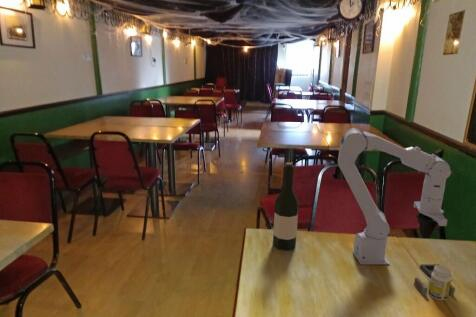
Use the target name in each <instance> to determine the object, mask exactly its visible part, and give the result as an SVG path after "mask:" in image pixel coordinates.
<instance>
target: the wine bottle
mask: <svg viewBox="0 0 476 317" xmlns="http://www.w3.org/2000/svg"><path fill="white" fill-rule="evenodd" d="M293 164H294V163H292V162H285V164H284V166H283V178H282V189H281V191H280V193H279V194H278V195H277V197H276V198H275V200H274V213H273V214H274V217H273V218H274V219H273V232H272V233H273V236H272V247H274V248H276V249H277V250H279V251H286V252H287V251H292V250H295V249H296V245H297V233H298V231H297V230H298V217H299V204H300V202H299V201H300V200H299V198H298V197H297V195H296V193H295V191H294V190H293V188H294V185H293V184H294V172H295V165H293Z"/></svg>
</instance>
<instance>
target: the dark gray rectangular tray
mask: <svg viewBox="0 0 476 317" xmlns="http://www.w3.org/2000/svg"><path fill="white" fill-rule="evenodd" d="M435 265H440V264H431V263H429V264H427V263H426V264H424V263H422V264H420V265H419V269H420V270H421V271H423V273H424V274H425V275H426V276H427V277H429V278H430V280H431V274H432V272H433V271H434V266H435ZM450 277H451V278H452V275H450ZM429 278H428V279H429Z"/></svg>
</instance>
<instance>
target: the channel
mask: <svg viewBox="0 0 476 317" xmlns="http://www.w3.org/2000/svg"><path fill="white" fill-rule="evenodd" d="M413 285H414V287H415V288H416V289H417V290H418V291H419V293H420V294H421V295H422V296H424V297H425V296H427V293H428V290H429V287H427V285H425V283H424V282H423V281H422V280H421V279H420V278H419V277H414V282H413ZM455 292H456V287H455V286H454V285H453V284H452V283H451V284H450V289H449V295H450V296H452V297H453V296H455Z"/></svg>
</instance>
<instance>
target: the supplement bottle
mask: <svg viewBox="0 0 476 317" xmlns="http://www.w3.org/2000/svg"><path fill="white" fill-rule="evenodd" d="M451 274H452V270H451V268H449V267H448V266H446V265H443V264H439V265H435V266H434V271H433V272H432V274H431V279H430V282H429V287H428V295H429V296H430V297H431V298H434V299H435V300H438V301H447V300H448V298H449V295H450V294H449V289H450V284H452V283H451V282H452V275H451ZM450 275H451V277H450Z"/></svg>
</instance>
